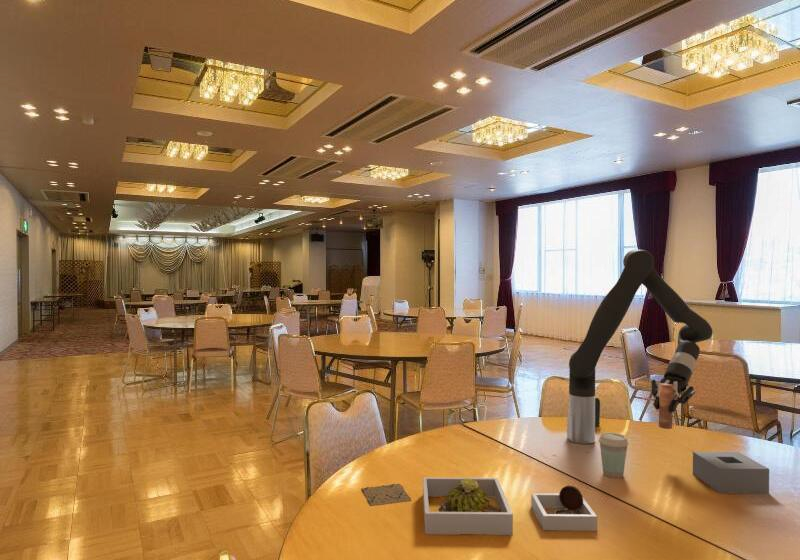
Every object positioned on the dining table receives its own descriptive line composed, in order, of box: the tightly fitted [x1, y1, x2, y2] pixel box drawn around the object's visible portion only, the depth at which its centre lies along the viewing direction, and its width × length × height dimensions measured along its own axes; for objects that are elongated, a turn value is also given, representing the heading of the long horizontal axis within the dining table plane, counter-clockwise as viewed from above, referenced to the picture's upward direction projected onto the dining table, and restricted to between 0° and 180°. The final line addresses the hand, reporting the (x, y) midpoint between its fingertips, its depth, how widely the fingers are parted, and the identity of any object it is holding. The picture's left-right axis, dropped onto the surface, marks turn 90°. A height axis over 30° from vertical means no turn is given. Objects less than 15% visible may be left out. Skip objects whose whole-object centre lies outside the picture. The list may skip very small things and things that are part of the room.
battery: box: [595, 396, 601, 426], centre depth 216 cm, size 7×4×11 cm, turn 106°
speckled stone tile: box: [361, 483, 412, 507], centre depth 148 cm, size 12×12×1 cm
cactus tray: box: [422, 476, 514, 536], centre depth 137 cm, size 21×22×5 cm
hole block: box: [692, 451, 770, 494], centre depth 156 cm, size 14×14×7 cm
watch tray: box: [530, 492, 598, 532], centre depth 134 cm, size 13×13×4 cm
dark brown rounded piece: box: [552, 484, 584, 514], centre depth 134 cm, size 8×8×7 cm
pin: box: [658, 383, 674, 430], centre depth 172 cm, size 4×4×14 cm
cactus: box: [438, 477, 501, 512], centre depth 135 cm, size 17×16×10 cm
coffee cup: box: [598, 432, 629, 479], centre depth 163 cm, size 8×9×12 cm
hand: (663, 409), depth 171 cm, fingers closed on pin, 4 cm apart
